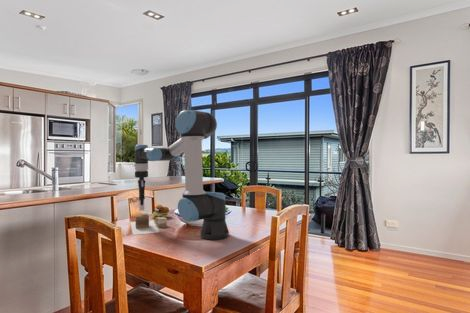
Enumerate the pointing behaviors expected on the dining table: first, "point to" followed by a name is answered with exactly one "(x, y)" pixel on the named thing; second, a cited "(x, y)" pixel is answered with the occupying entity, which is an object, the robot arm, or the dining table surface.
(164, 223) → the maple block
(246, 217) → the dining table surface
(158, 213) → the cheeseburger
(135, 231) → the placemat
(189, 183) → the robot arm
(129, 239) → the dining table surface
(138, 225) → the walnut block
